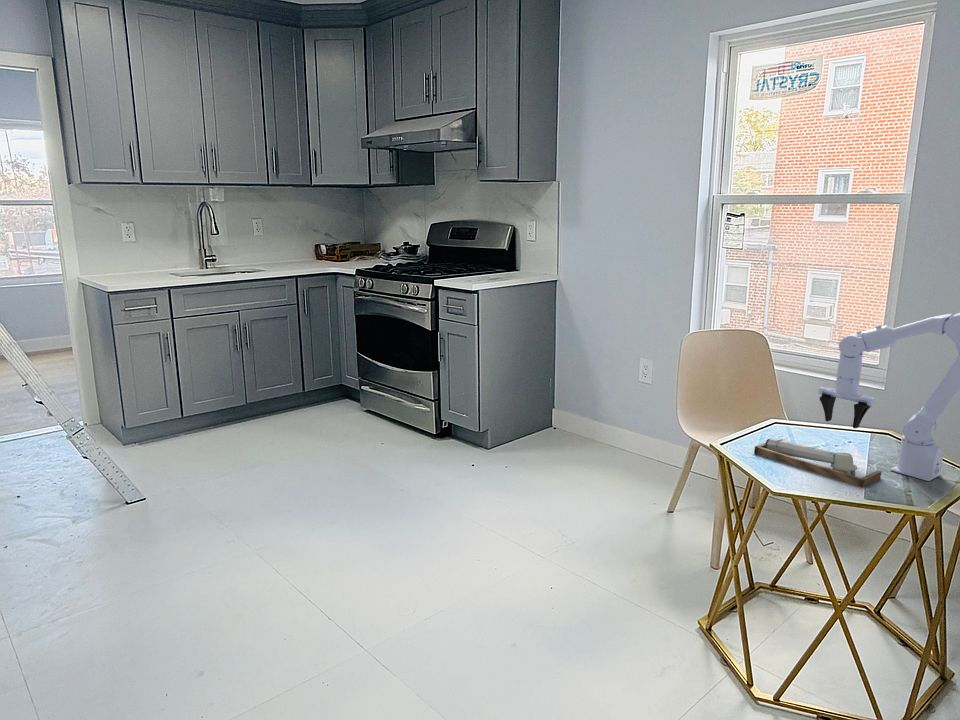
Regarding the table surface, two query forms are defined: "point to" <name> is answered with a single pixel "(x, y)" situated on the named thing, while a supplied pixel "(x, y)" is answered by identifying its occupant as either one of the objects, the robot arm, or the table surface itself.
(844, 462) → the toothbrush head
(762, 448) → the walnut bay
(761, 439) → the table surface
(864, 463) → the table surface
